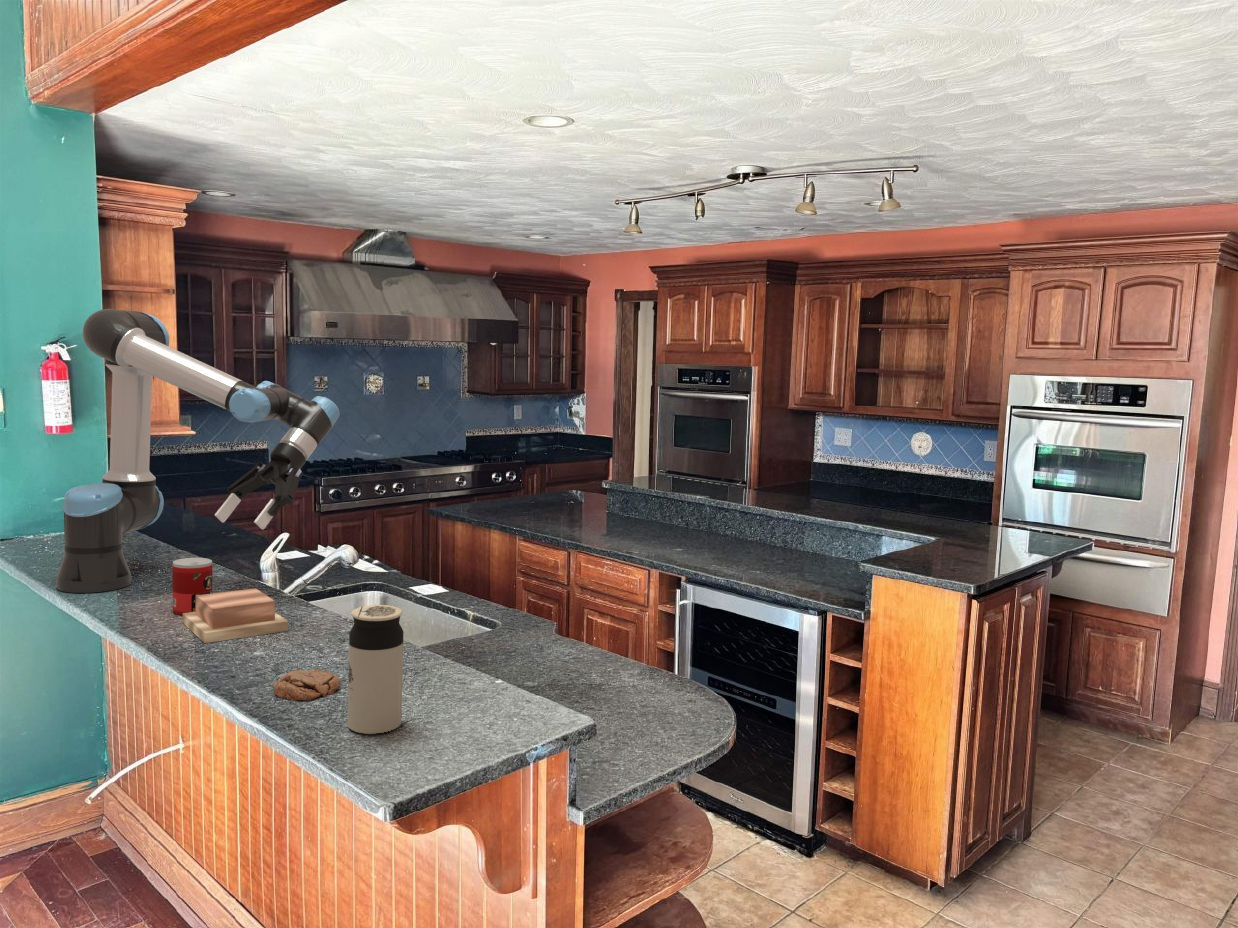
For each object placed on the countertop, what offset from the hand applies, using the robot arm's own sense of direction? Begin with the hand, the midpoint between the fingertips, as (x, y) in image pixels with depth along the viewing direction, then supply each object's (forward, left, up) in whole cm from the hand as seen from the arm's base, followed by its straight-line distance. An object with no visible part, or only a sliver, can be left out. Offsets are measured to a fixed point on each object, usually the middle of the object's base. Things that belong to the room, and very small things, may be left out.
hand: (238, 522), depth 200 cm
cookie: (+61, -7, -19) cm, 64 cm away
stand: (+19, -6, -18) cm, 27 cm away
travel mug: (+81, -4, -18) cm, 83 cm away
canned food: (+3, -10, -18) cm, 21 cm away
